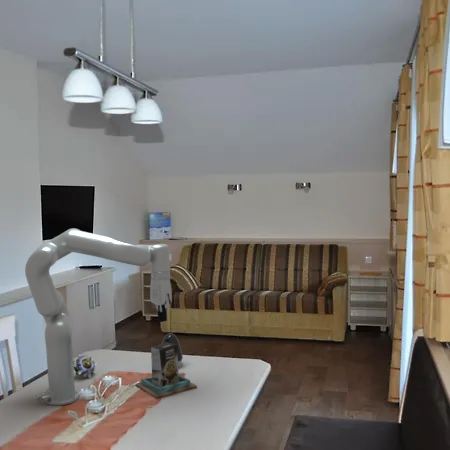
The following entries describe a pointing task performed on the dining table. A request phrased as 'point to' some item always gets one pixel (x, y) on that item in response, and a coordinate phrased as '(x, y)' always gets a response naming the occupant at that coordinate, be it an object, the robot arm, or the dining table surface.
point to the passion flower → (84, 366)
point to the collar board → (165, 387)
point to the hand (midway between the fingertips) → (162, 321)
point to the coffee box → (164, 364)
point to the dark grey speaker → (173, 339)
